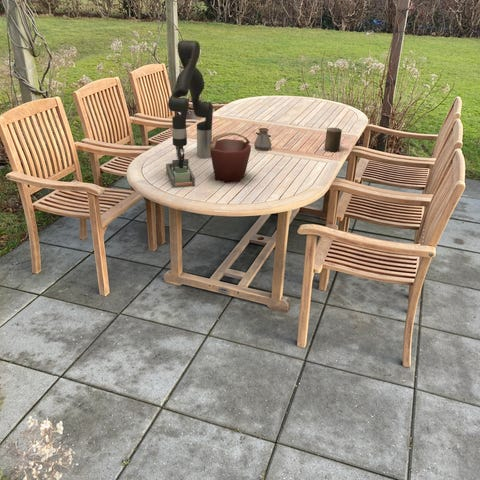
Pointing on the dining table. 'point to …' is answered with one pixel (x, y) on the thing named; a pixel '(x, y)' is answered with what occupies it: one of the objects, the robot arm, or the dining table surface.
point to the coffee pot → (262, 140)
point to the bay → (179, 184)
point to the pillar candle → (333, 139)
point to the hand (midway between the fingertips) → (180, 166)
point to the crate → (181, 172)
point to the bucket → (229, 158)
